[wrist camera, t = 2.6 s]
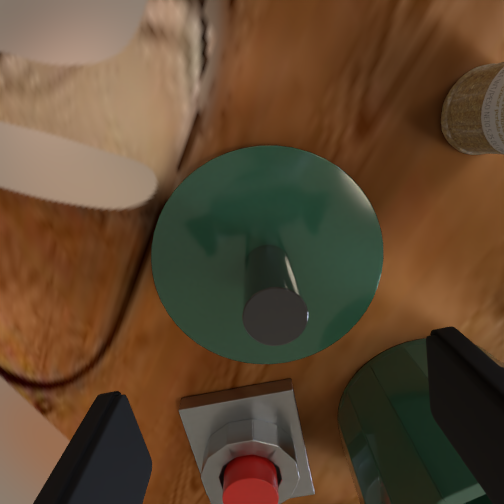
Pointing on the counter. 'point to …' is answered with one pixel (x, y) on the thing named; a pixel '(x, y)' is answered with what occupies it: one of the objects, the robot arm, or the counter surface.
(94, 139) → the counter surface
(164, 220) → the pot lid
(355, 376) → the green pot
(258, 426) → the grey mounting plate
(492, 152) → the sprinkles bottle
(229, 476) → the button
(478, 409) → the robot arm
